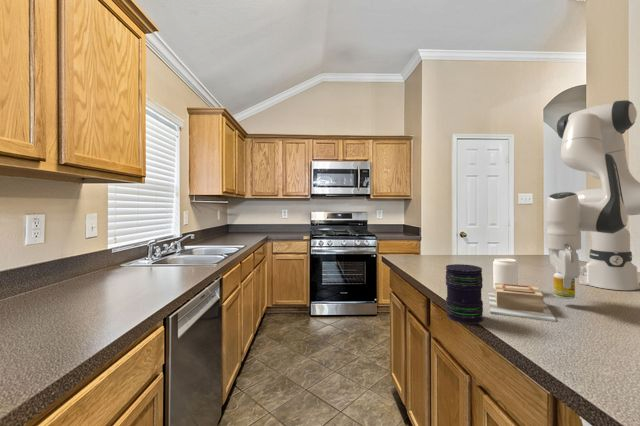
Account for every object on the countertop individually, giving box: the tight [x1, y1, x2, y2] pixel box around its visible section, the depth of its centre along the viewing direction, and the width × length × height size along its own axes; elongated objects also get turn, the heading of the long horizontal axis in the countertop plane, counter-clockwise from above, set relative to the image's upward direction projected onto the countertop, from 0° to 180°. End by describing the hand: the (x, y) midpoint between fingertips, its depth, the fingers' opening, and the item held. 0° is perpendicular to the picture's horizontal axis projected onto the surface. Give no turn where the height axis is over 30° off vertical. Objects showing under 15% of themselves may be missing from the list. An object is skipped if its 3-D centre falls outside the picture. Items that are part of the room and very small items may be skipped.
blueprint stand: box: [487, 283, 556, 322], centre depth 98 cm, size 22×16×6 cm
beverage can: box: [492, 257, 519, 290], centre depth 116 cm, size 8×8×12 cm
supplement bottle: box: [553, 267, 576, 300], centre depth 98 cm, size 5×5×10 cm
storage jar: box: [445, 263, 484, 325], centre depth 89 cm, size 10×10×15 cm
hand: (564, 285), depth 98 cm, fingers closed on supplement bottle, 5 cm apart
